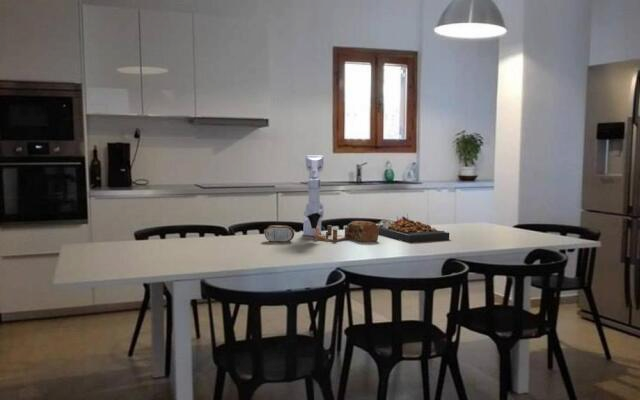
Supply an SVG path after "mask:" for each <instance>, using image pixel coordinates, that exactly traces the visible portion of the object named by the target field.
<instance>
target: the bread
mask: <svg viewBox="0 0 640 400" xmlns="http://www.w3.org/2000/svg"><path fill="white" fill-rule="evenodd" d="M375 223H376V222H372V221H366V220H365V221H364V220H354V221H351V222H350V223H348V224H347V225H346V227H349V236H351V240H353V241H357V242H359V243H360V242H362V243H370V242H372V243H373V242H374V243H375V242H377V241H378V240H379V234H378V233H379V229H378V226H377V225H376V224H375Z"/></svg>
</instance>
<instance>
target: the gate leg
mask: <svg viewBox="0 0 640 400" xmlns="http://www.w3.org/2000/svg"><path fill="white" fill-rule="evenodd" d="M314 237H323V238H325V237H326V234H324V235H319V227H317V228H315V236H314Z"/></svg>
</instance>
